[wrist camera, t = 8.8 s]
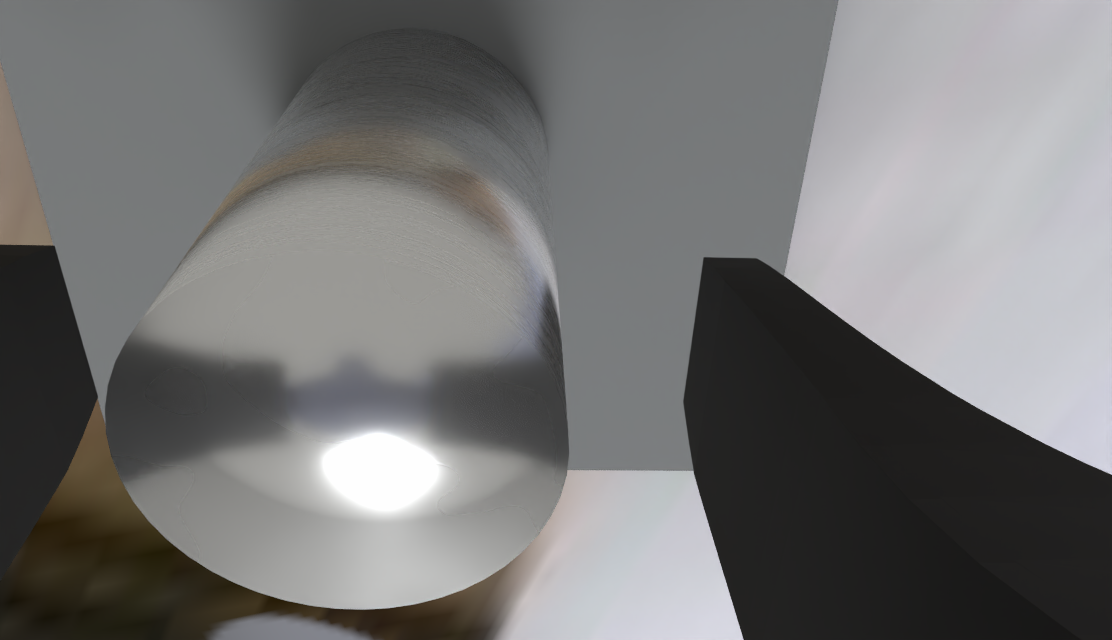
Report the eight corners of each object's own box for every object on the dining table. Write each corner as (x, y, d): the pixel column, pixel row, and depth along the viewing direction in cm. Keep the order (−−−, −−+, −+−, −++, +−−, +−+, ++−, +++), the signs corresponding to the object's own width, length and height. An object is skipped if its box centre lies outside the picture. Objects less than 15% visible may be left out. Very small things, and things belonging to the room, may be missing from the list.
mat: (876, -259, 12) (890, -261, 11) (740, 454, 18) (745, 470, 17) (-83, -305, 11) (-107, -307, 11) (127, 450, 17) (117, 467, 17)
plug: (566, 49, 13) (605, 283, 7) (529, 286, 15) (536, 623, 9) (285, 8, 13) (76, 222, 7) (287, 259, 15) (128, 593, 9)
